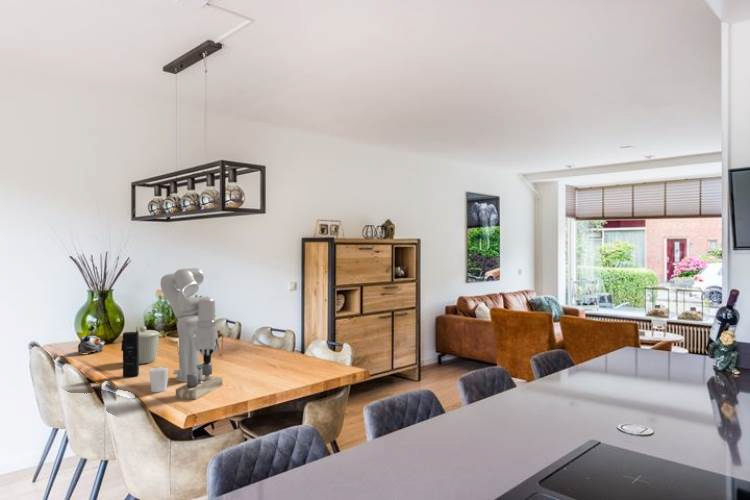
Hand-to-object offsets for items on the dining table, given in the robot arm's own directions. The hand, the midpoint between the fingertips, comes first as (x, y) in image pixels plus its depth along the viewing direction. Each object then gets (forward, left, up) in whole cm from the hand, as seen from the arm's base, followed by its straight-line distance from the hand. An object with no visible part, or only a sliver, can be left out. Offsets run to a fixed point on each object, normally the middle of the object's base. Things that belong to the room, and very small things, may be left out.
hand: (207, 363), depth 229 cm
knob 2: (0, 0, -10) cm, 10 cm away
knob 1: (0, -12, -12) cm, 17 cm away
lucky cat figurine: (-118, +58, -12) cm, 132 cm away
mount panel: (0, -6, -12) cm, 13 cm away
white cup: (-20, -8, -12) cm, 25 cm away
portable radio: (-52, +12, -12) cm, 55 cm away
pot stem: (0, -6, -8) cm, 10 cm away
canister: (-66, +40, -12) cm, 78 cm away
